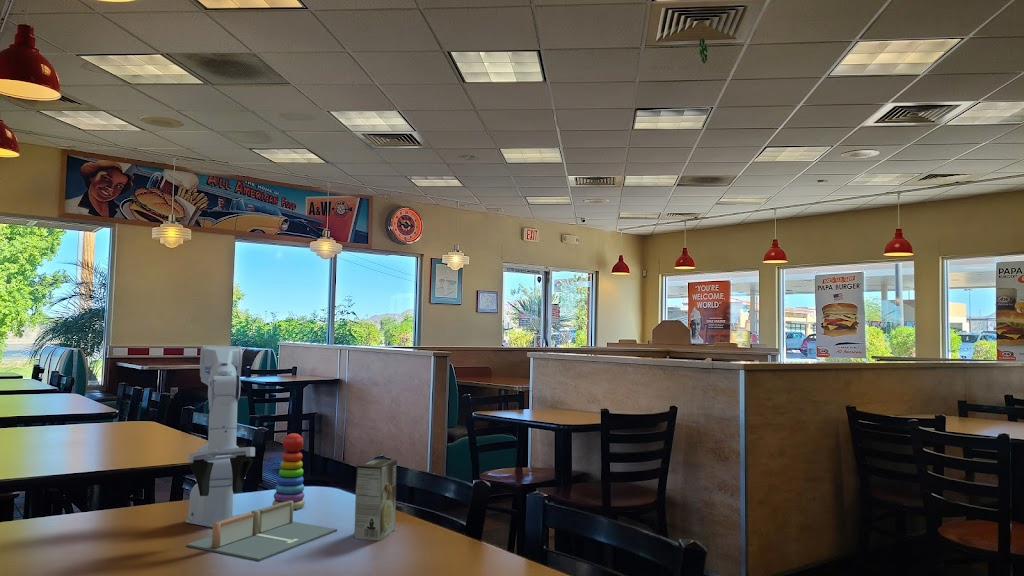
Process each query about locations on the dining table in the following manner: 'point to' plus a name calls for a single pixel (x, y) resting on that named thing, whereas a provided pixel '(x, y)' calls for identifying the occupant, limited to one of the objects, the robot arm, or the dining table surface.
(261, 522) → the fence fixed
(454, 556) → the dining table surface
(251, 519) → the hinged fence panel
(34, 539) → the dining table surface
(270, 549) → the mat
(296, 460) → the stacking toy
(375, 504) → the coffee box
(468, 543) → the dining table surface
